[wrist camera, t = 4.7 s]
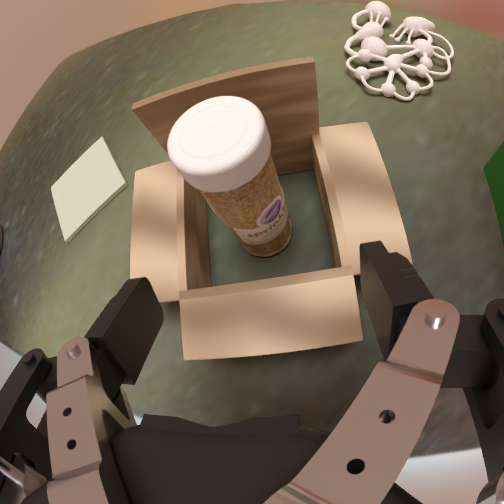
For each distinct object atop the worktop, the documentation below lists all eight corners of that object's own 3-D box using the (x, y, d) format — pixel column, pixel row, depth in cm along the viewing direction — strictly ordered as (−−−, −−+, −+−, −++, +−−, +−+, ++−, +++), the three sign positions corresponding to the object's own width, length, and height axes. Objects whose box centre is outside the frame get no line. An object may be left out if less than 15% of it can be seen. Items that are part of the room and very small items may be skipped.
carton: (401, 328, 20) (479, 320, 9) (167, 357, 23) (62, 363, 12) (361, 156, 24) (376, 51, 13) (161, 195, 28) (86, 124, 16)
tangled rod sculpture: (437, 131, 25) (451, 109, 21) (317, 80, 28) (317, 53, 24) (450, 48, 27) (457, 29, 23) (361, 12, 30) (363, -9, 26)
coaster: (68, 242, 29) (65, 241, 29) (53, 189, 33) (50, 187, 32) (128, 184, 29) (125, 182, 29) (104, 138, 33) (102, 136, 32)
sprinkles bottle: (279, 266, 23) (232, 185, 11) (229, 245, 25) (145, 159, 12) (301, 216, 24) (280, 100, 11) (253, 198, 25) (196, 87, 13)
